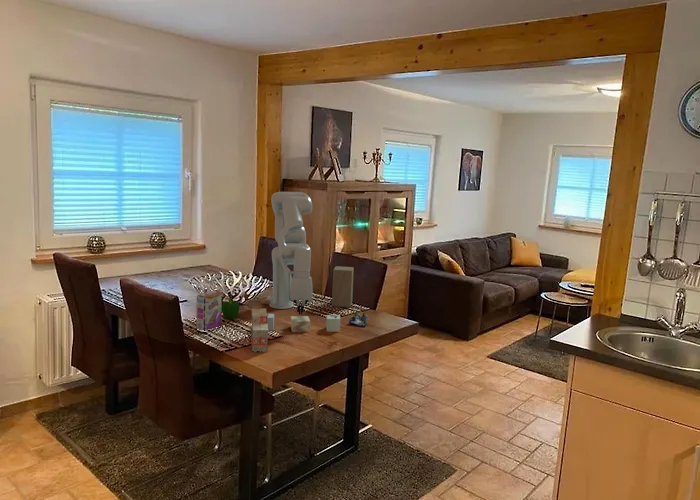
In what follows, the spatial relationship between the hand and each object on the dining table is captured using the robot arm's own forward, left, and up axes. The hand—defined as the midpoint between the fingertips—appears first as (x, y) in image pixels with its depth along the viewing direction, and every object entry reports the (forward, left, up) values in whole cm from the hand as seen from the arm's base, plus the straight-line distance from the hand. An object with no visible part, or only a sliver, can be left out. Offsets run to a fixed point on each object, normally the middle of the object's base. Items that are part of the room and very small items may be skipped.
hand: (300, 313), depth 245 cm
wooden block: (-3, +49, -7) cm, 49 cm away
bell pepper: (-36, -4, -7) cm, 37 cm away
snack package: (+20, +23, -8) cm, 31 cm away
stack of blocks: (-4, -26, -8) cm, 28 cm away
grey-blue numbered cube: (-13, -8, -7) cm, 17 cm away
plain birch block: (0, 0, -7) cm, 7 cm away
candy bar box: (-33, -23, -7) cm, 41 cm away
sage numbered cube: (+13, +7, -7) cm, 17 cm away
